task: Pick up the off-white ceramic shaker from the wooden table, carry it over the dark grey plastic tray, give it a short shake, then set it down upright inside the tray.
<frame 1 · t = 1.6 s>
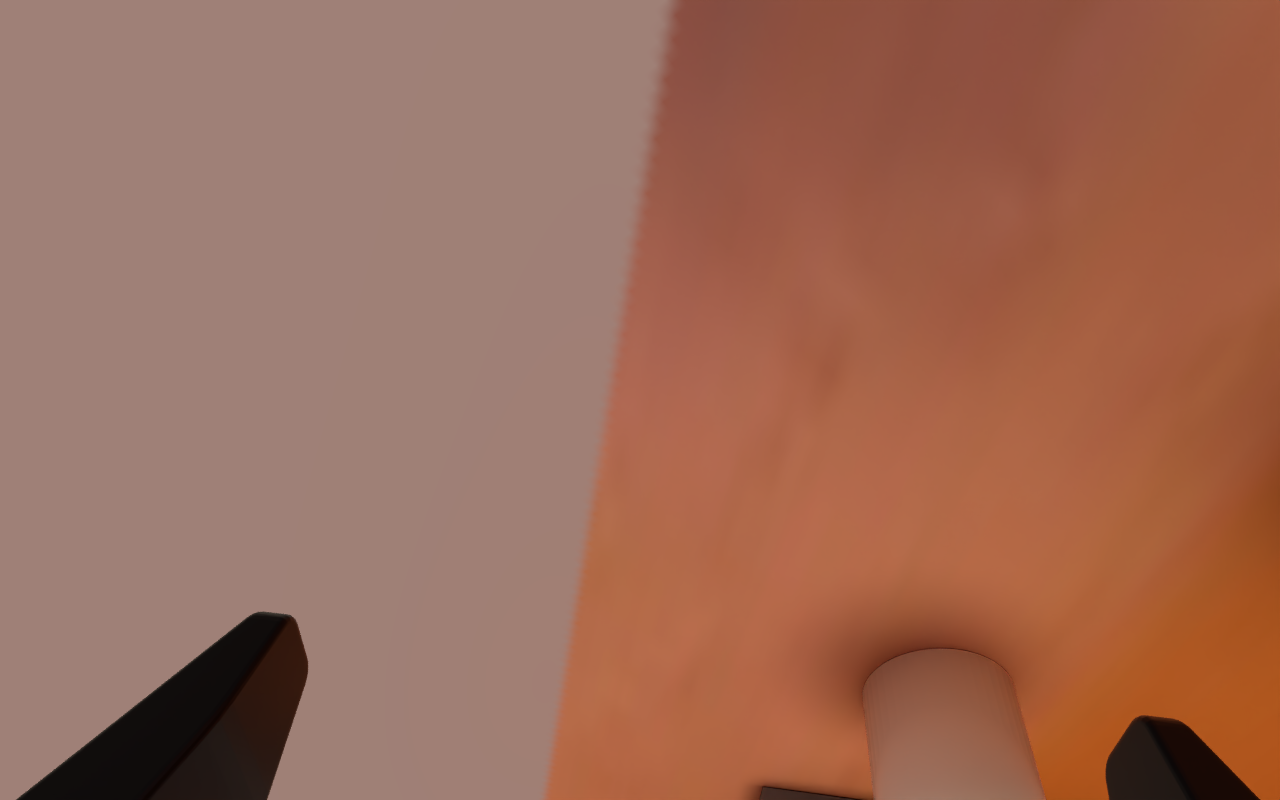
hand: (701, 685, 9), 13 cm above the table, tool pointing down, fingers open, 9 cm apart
shaker: (937, 695, 29), on the table
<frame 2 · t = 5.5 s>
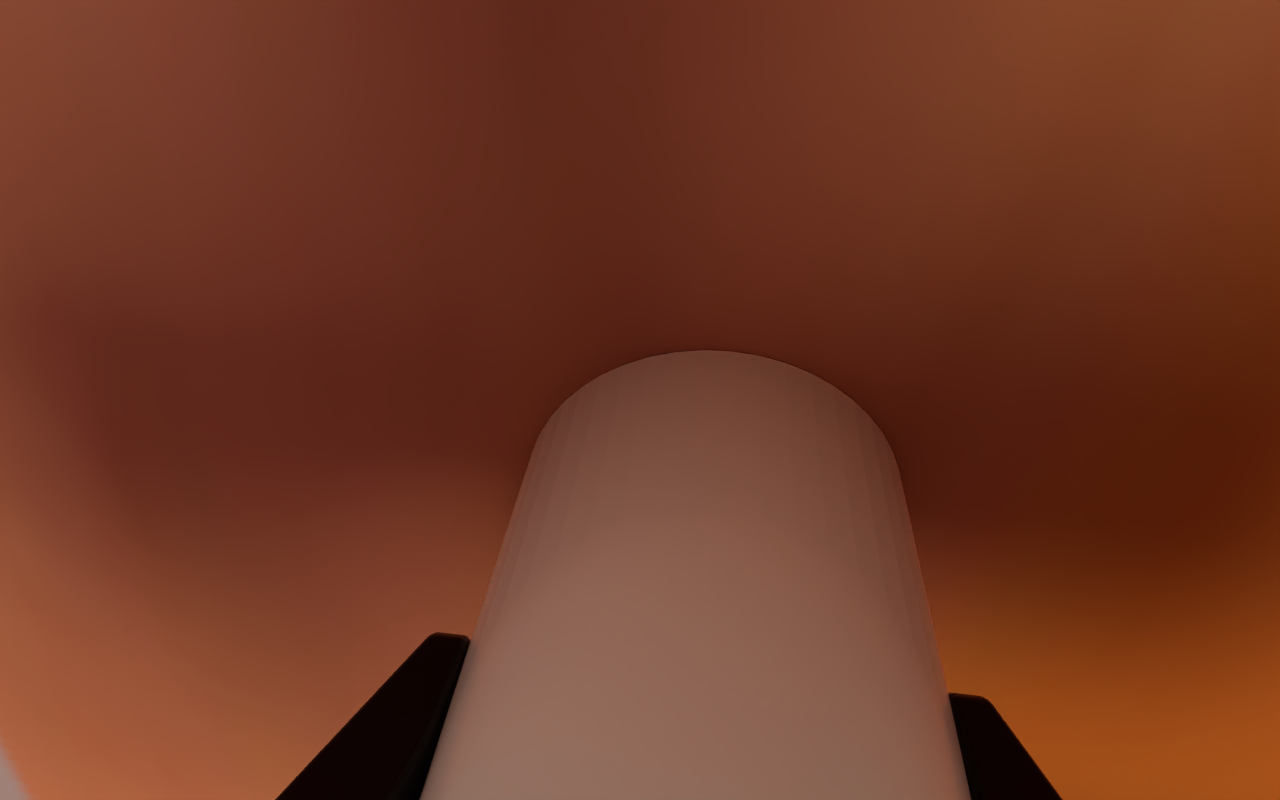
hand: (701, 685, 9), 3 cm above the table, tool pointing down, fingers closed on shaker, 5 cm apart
shaker: (710, 507, 11), on the table, touching gripper
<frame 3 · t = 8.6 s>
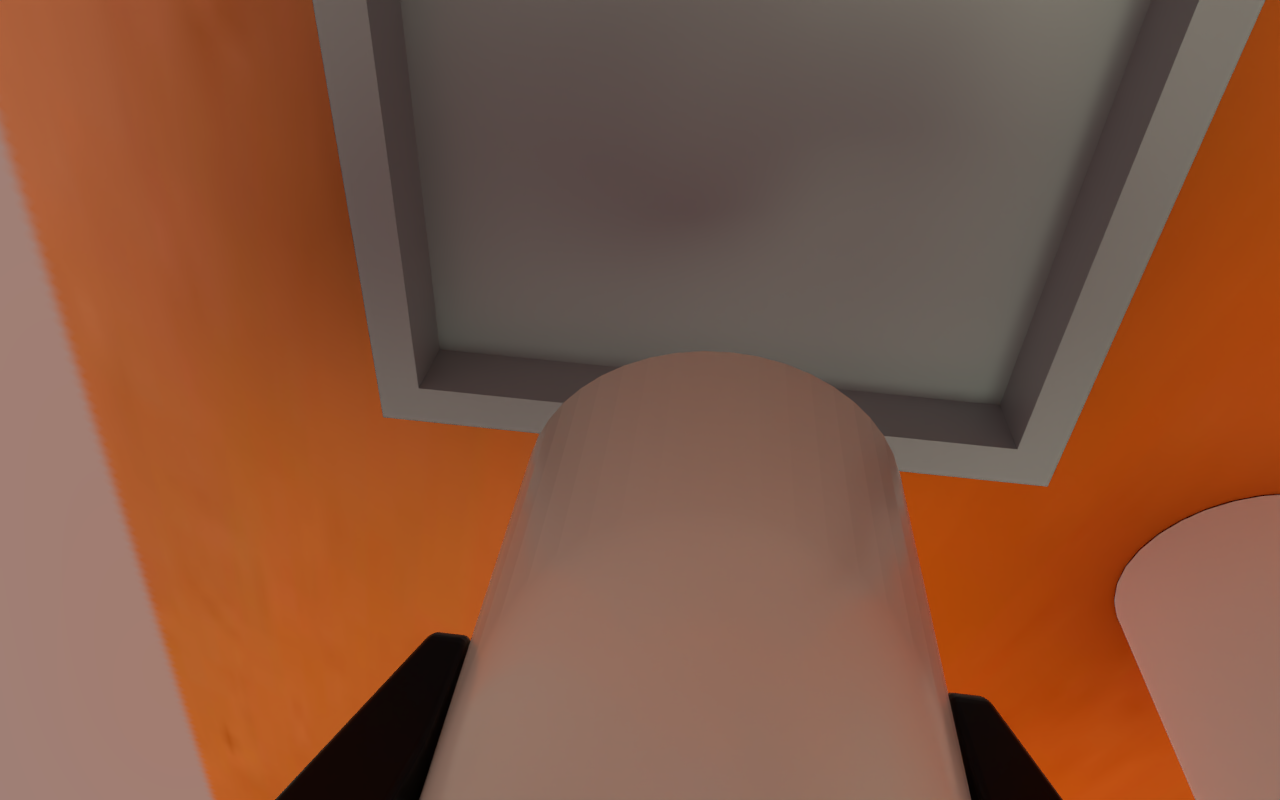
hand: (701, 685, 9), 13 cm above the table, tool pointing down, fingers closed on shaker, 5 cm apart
tray: (748, 79, 18), on the table
cylindrical container: (1246, 580, 25), on the table
shaker: (709, 508, 11), point 10 cm above the table, touching gripper
when the fingers open (5 cm above the table, at t = 12.2 s): shaker drops 1 cm, resting on tray.
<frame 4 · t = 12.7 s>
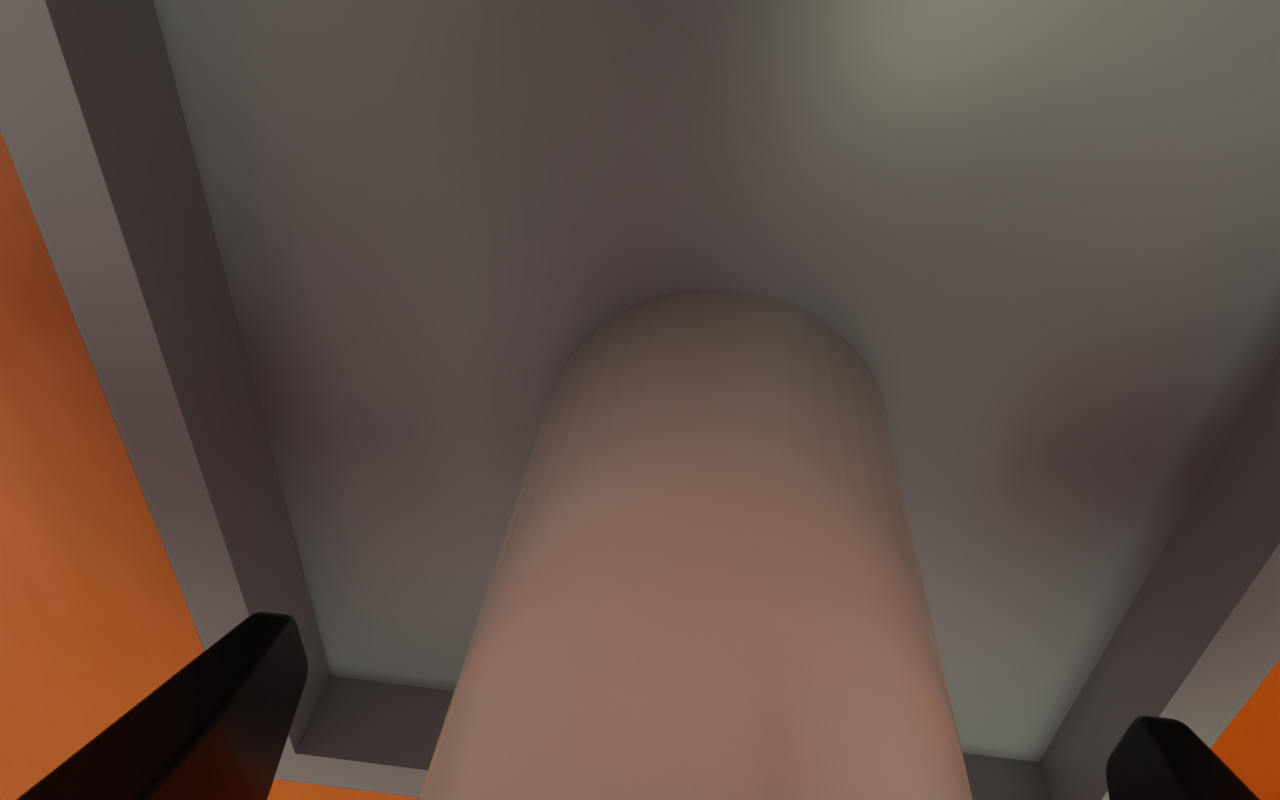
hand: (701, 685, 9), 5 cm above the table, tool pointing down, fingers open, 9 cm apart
tray: (715, 409, 13), on the table
shaker: (713, 440, 13), point 1 cm above the table, touching tray
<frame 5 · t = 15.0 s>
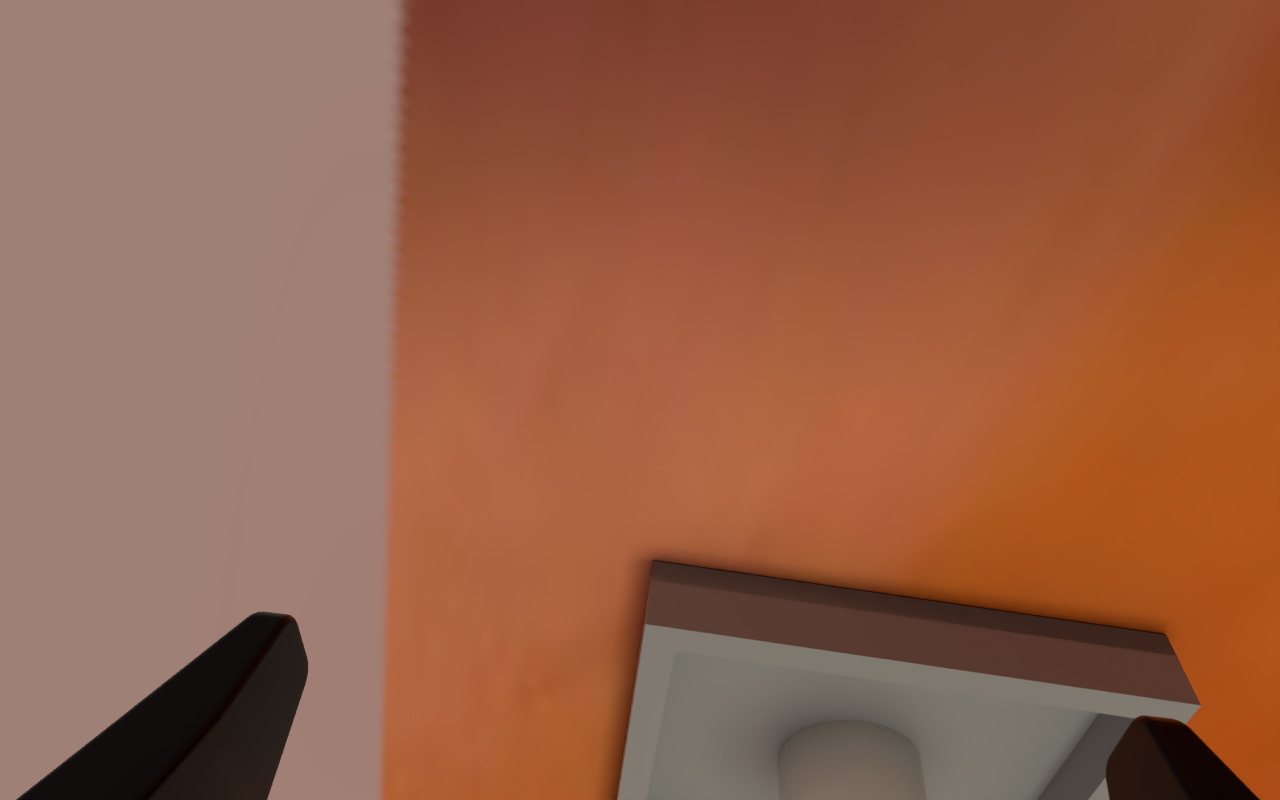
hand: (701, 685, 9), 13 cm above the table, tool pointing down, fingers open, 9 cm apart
tray: (845, 742, 31), on the table
shaker: (848, 762, 31), point 1 cm above the table, touching tray
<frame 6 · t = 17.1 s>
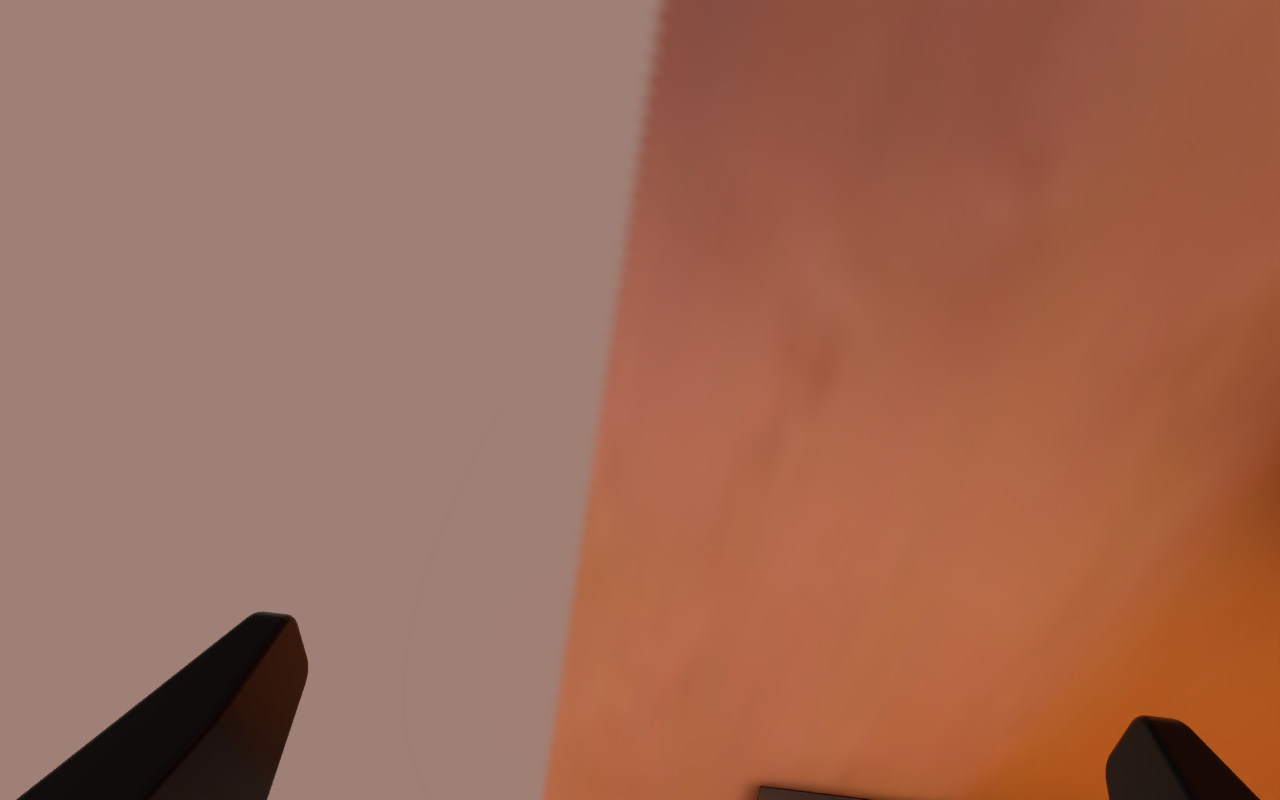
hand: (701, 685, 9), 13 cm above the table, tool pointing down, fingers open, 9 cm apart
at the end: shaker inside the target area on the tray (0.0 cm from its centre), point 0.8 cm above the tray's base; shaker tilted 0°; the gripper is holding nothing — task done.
